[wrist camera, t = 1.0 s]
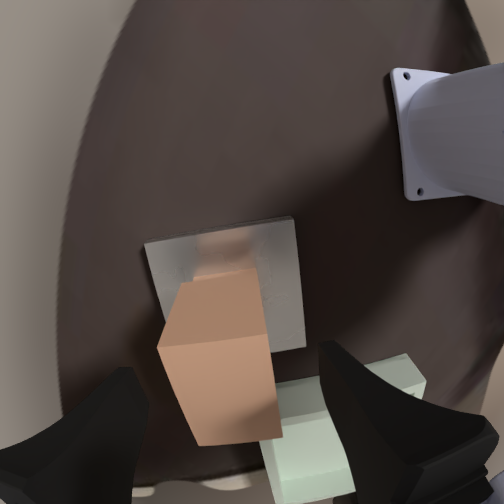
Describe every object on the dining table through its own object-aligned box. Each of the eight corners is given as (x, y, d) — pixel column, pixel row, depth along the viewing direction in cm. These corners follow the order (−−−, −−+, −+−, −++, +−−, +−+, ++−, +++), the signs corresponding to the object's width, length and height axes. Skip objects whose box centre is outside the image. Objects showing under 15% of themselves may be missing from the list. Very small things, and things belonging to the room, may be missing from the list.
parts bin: (405, 353, 20) (426, 381, 17) (383, 455, 25) (393, 479, 22) (251, 386, 20) (254, 422, 17) (273, 480, 25) (276, 507, 22)
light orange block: (253, 251, 16) (267, 333, 9) (266, 334, 18) (283, 437, 10) (190, 261, 16) (156, 347, 9) (210, 342, 18) (198, 446, 10)
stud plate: (290, 215, 17) (303, 231, 13) (303, 337, 19) (314, 371, 16) (148, 238, 17) (129, 259, 13) (182, 354, 19) (173, 390, 16)
